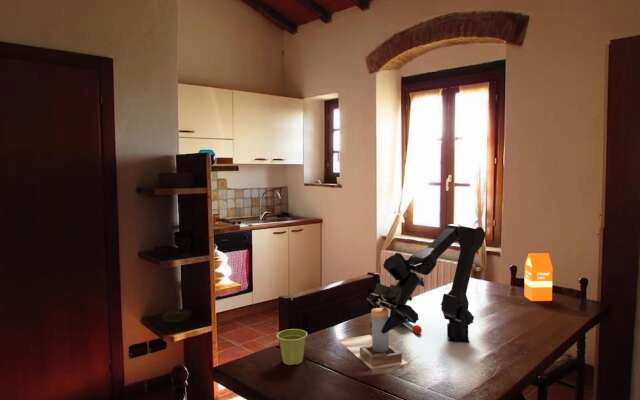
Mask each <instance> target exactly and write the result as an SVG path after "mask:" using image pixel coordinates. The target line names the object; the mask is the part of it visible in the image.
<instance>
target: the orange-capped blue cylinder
mask: <svg viewBox="0 0 640 400" xmlns="http://www.w3.org/2000/svg"><path fill="white" fill-rule="evenodd" d="M388 315H389V309H387V308H386V309H385V308H374V307H373V308H372V309H371V322H372V328H371V336H372V349H373V350H374V351H376V352H385V351H388V350H389V345H390V344H389V343H390V342H389V340H390V339H389V337H390V336H389V331H388V332H386V333H385V334H383V333H382V332H381V331H382V329H383V327H384V325H385V323H386V322H387V320H388Z"/></svg>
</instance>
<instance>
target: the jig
mask: <svg viewBox="0 0 640 400" xmlns="http://www.w3.org/2000/svg"><path fill="white" fill-rule="evenodd" d="M337 341H338V342H340V343H341V344H342V345H343V346H344V347H345V348H346V349H348V350H349V352H351V353H352V354H353V355H355V357H357V358H358V359H359V360H360V361H361V362H363V363H364V364H365V365H366V366H367V367H368V368H370V369H369V370H368V371H369V372H370V373H371V374H375V373H380V372H386V371H391V370H397V369H404V366H402V365H407V364H409V362H407V360H405V359H404V358H402V357H403V354H402V352H400V351H399V350H398V349H396V348H395V347H393V346H392V345H390V344H389V350H388V351H385V352H376V351H374V350H373V349H372V334H366V335H360V336H353V337H346V338H340V339H337ZM397 366H398V367H397ZM407 367H409V366H407Z"/></svg>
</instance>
